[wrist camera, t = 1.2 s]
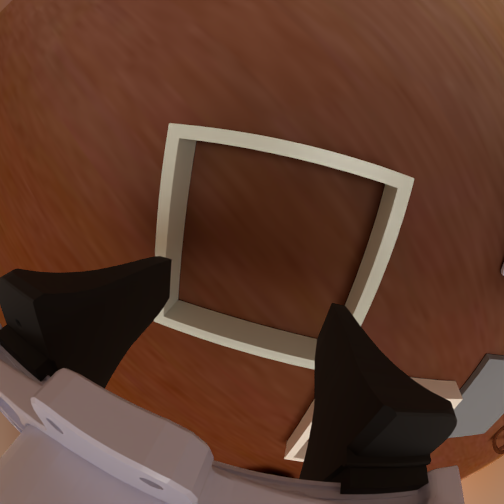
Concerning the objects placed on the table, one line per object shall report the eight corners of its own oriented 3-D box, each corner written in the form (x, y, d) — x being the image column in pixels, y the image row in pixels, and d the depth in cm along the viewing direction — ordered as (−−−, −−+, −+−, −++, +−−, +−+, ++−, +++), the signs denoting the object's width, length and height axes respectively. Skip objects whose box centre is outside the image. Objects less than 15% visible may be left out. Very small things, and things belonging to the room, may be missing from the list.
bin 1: (400, 174, 14) (414, 178, 12) (335, 351, 19) (336, 373, 17) (187, 126, 16) (169, 123, 14) (168, 304, 21) (154, 321, 19)
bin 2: (455, 381, 18) (462, 399, 16) (389, 451, 23) (390, 467, 21) (333, 364, 20) (333, 387, 18) (287, 441, 25) (284, 458, 23)
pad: (540, 359, 15) (542, 362, 14) (482, 429, 20) (484, 433, 19) (486, 353, 17) (489, 358, 16) (418, 434, 22) (419, 439, 21)
